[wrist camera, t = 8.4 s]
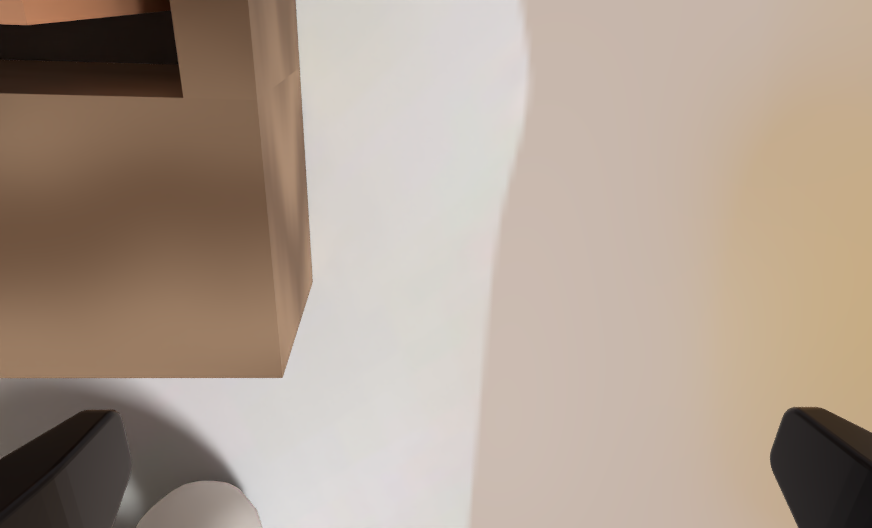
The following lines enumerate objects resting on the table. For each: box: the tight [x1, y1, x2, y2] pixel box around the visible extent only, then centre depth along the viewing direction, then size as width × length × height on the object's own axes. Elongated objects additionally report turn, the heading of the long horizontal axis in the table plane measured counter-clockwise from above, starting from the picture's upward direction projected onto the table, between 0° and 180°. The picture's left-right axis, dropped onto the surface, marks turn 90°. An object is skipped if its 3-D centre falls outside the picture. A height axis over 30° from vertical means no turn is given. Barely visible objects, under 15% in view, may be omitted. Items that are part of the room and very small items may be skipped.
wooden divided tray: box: [0, 0, 313, 378], centre depth 13 cm, size 16×12×7 cm
